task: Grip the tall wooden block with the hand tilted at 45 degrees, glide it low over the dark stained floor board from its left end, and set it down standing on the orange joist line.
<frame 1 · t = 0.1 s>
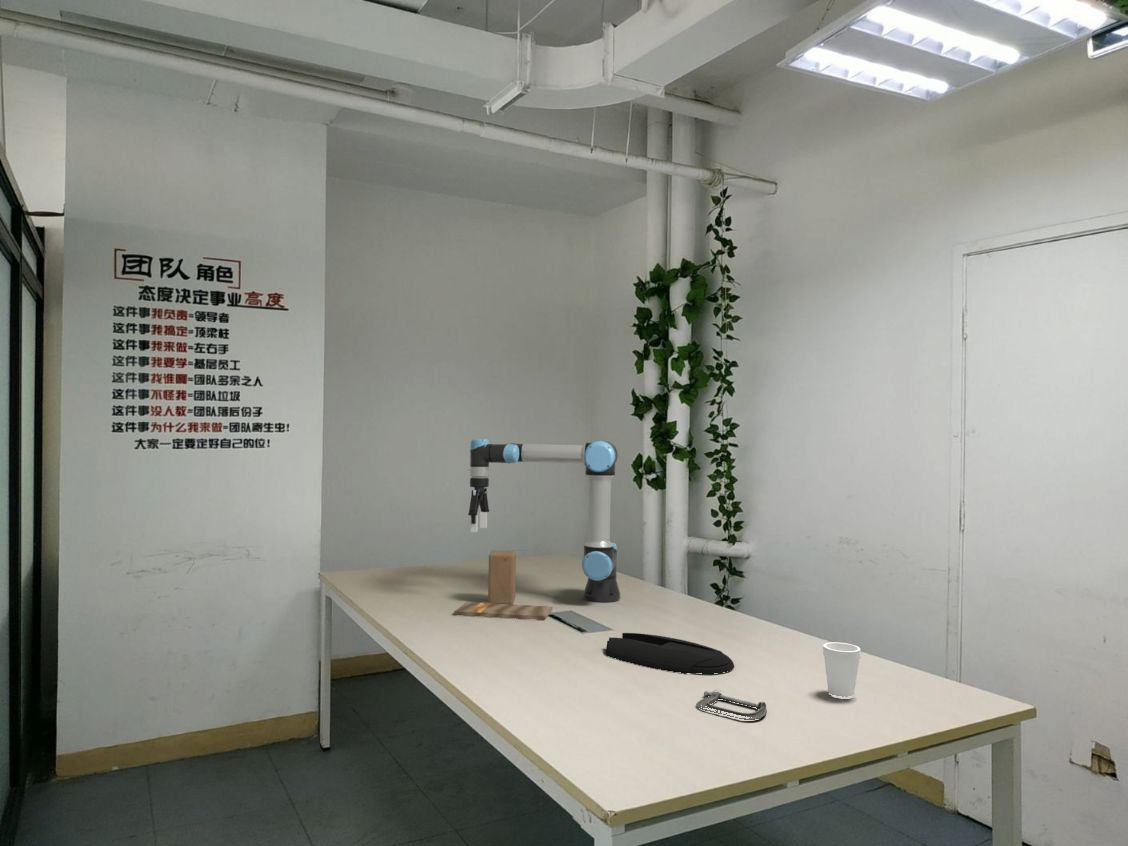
hand: (478, 530, 327), 28 cm above the table, tool pointing down, fingers open, 13 cm apart
wooden block: (501, 603, 322), on the table
black notched oval shell: (670, 660, 249), on the table
foam cup: (840, 696, 217), on the table
floor board: (504, 612, 304), on the table
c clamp: (733, 709, 207), on the table
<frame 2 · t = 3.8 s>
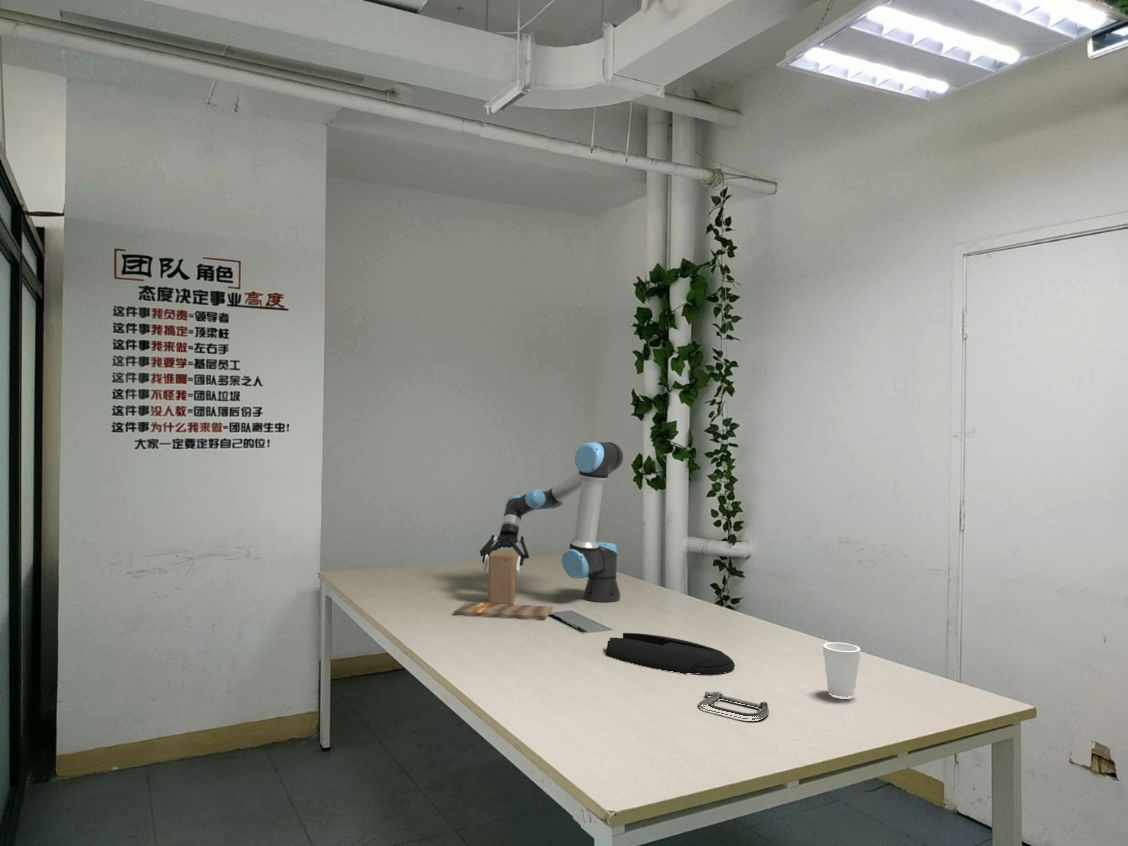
hand: (500, 570, 324), 12 cm above the table, tool tilted 45°, fingers open, 13 cm apart
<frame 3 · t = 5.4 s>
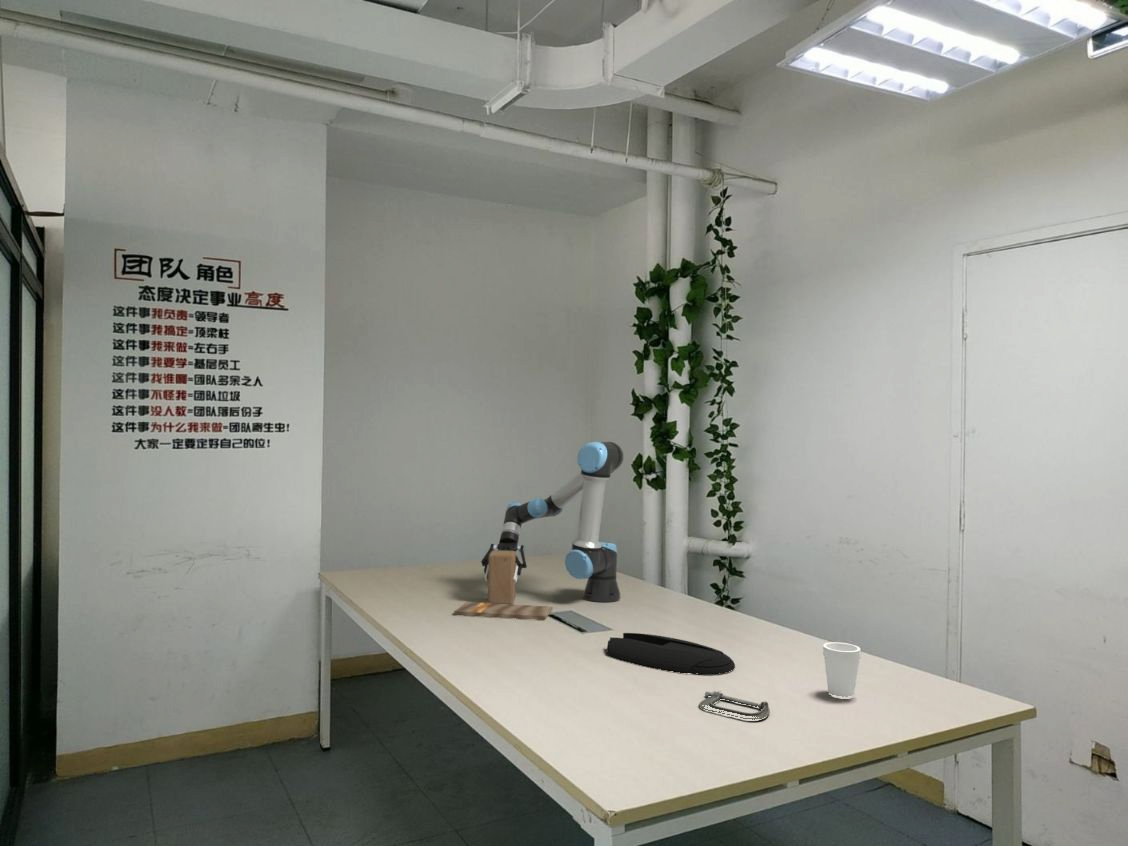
hand: (500, 580, 319), 9 cm above the table, tool tilted 45°, fingers closed on wooden block, 11 cm apart
wooden block: (501, 603, 322), on the table, touching gripper
everything else where it was.
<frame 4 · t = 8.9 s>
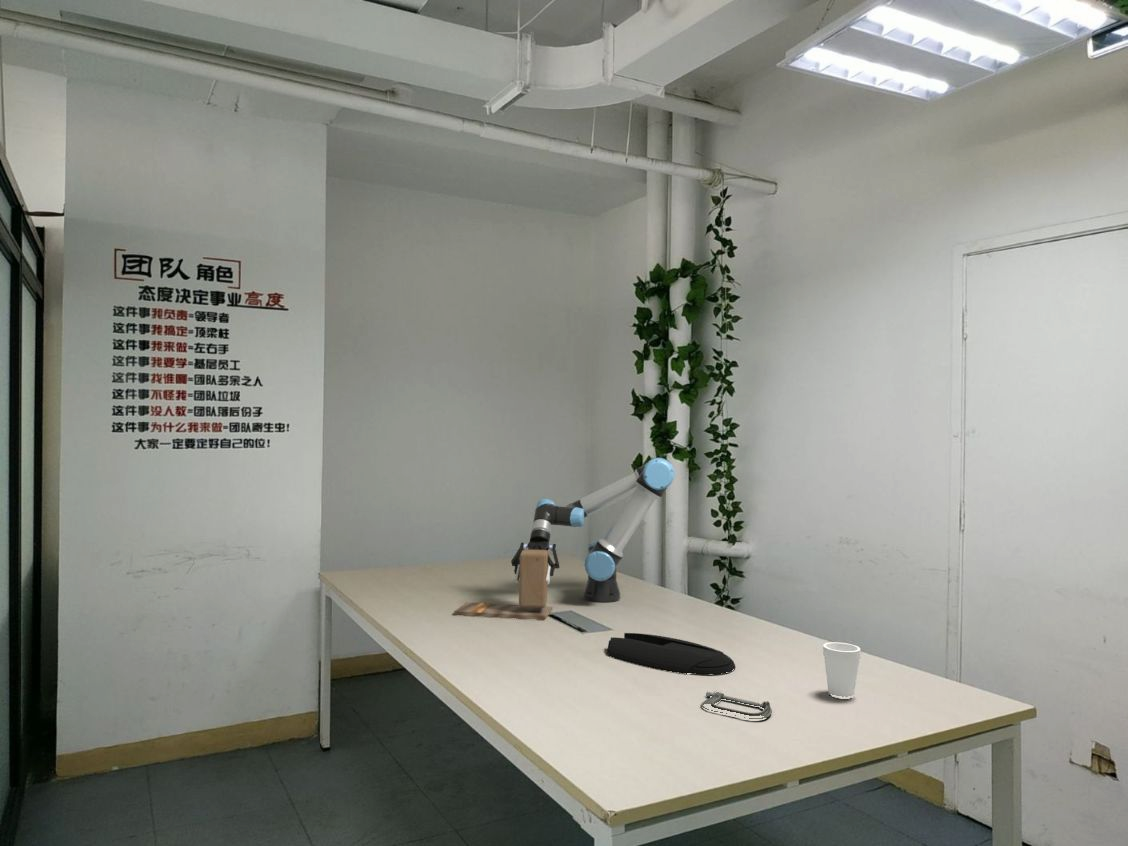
hand: (532, 581, 300), 13 cm above the table, tool tilted 45°, fingers closed on wooden block, 11 cm apart
wooden block: (532, 605, 302), point 3 cm above the table, touching gripper
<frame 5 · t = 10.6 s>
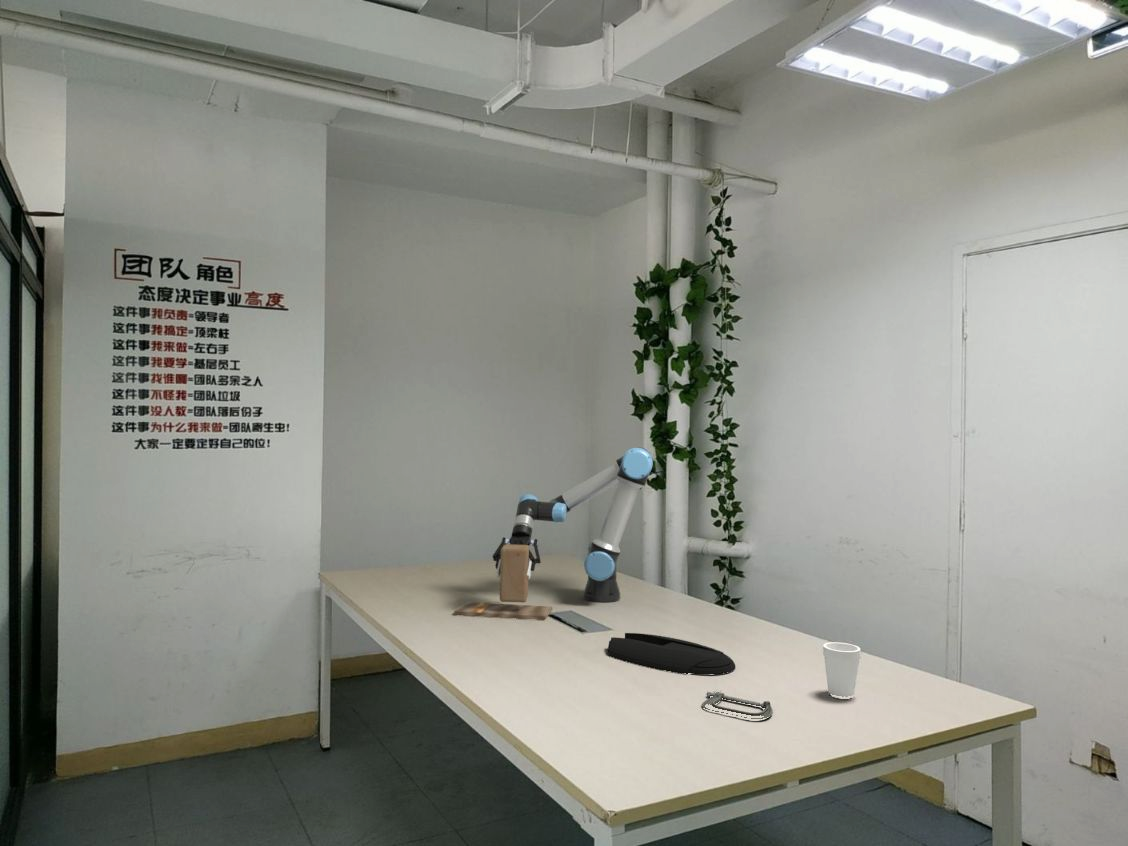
hand: (512, 576, 301), 14 cm above the table, tool tilted 45°, fingers closed on wooden block, 11 cm apart
wooden block: (513, 600, 304), point 5 cm above the table, touching gripper
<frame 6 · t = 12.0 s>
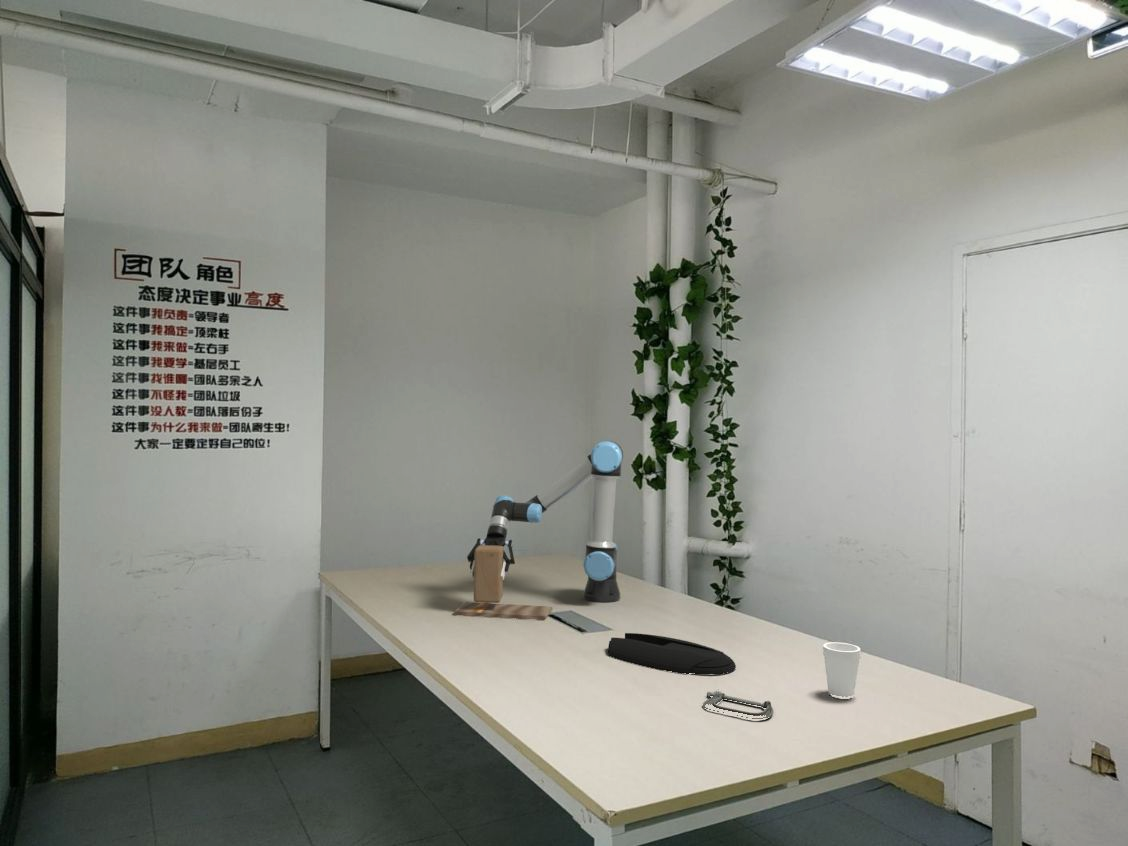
hand: (486, 577, 302), 14 cm above the table, tool tilted 45°, fingers closed on wooden block, 11 cm apart
wooden block: (488, 600, 305), point 4 cm above the table, touching gripper
when the fingers open (12 cm above the table, at t = 14.2 s): wooden block stays where it is, resting on floor board.
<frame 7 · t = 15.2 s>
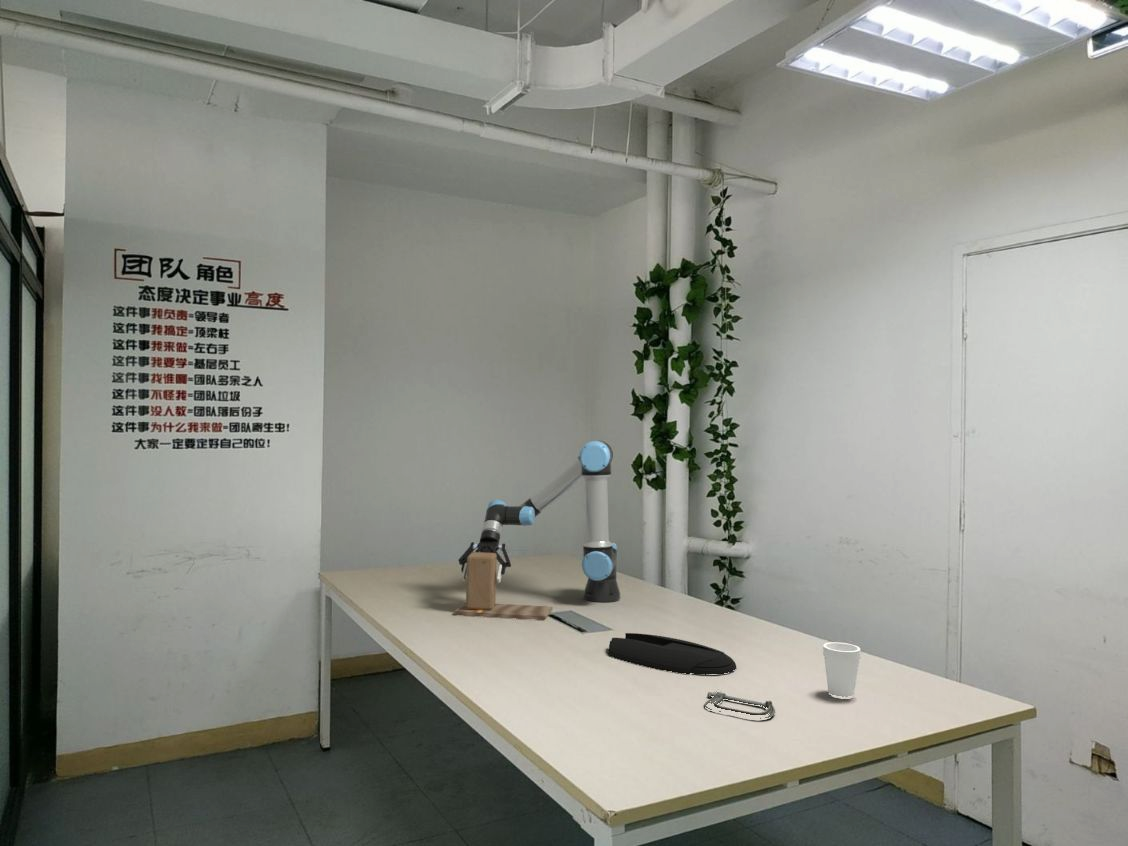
hand: (480, 580, 305), 12 cm above the table, tool tilted 45°, fingers open, 13 cm apart
wooden block: (480, 607, 306), point 1 cm above the table, touching floor board
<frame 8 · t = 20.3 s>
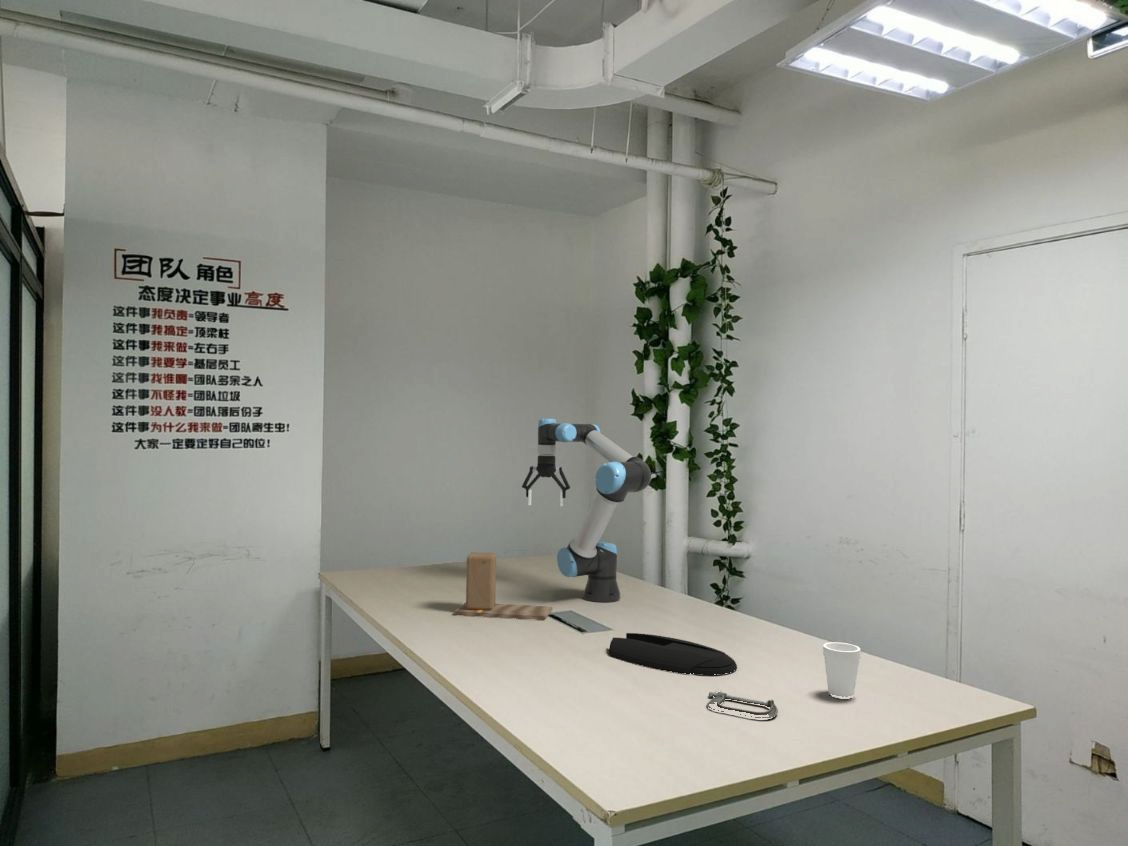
hand: (545, 505, 341), 37 cm above the table, tool pointing down, fingers open, 13 cm apart
at the end: wooden block 0.1 cm from the target spot on the floor board, point 1.4 cm above the floor board's base; wooden block tilted 0°; the gripper is holding nothing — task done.
